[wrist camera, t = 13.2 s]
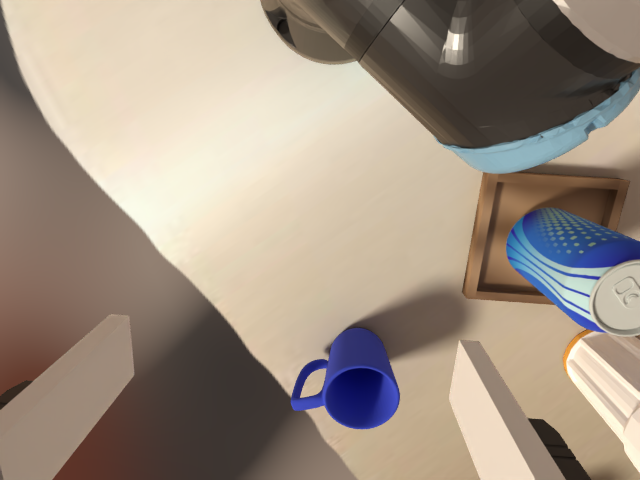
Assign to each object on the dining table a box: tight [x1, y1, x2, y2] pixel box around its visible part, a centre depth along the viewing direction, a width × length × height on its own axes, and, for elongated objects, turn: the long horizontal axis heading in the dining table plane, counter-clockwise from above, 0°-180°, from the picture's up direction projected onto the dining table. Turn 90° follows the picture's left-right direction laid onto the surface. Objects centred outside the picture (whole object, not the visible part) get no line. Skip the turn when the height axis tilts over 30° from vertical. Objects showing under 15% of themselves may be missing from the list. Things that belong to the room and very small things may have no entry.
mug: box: [291, 328, 400, 429], centre depth 48 cm, size 8×12×10 cm
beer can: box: [506, 208, 640, 337], centre depth 40 cm, size 8×8×16 cm
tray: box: [462, 172, 630, 305], centre depth 47 cm, size 15×15×2 cm
